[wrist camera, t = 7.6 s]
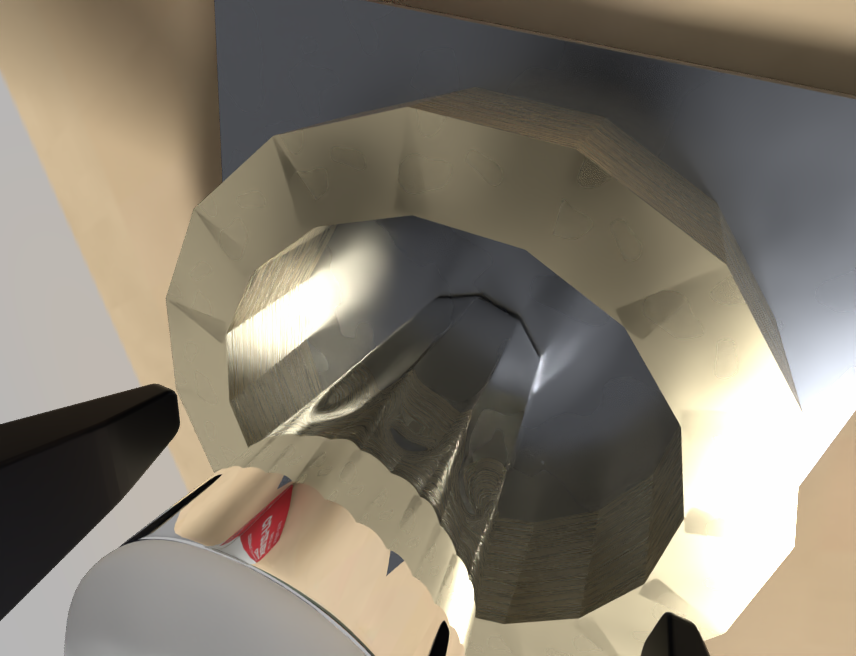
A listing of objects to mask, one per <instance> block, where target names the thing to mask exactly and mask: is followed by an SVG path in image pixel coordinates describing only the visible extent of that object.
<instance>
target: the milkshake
mask: <svg viewBox="0 0 856 656" xmlns="http://www.w3.org/2000/svg"><path fill="white" fill-rule="evenodd" d="M539 364H540V358H539V356H538V354H537V353H536V351H535V349H534V347H533V345H532V343H531V341H530V339H529V337H528V335H527V334H526V332H525V330H524V328H523V326H522V324H521V322H520V320H519V319H517V318H515V317H514V316H512V315H510V314H508V313H507V312H505V311H503V310H501V309H500V308H498V307H496V306H494V305H493V304H491V303H489V302H488V301H486V300H484V299H482V298H481V297H479V296H475V297H458V298H438V299H434V300H433V301H431V302H430V303H429V304H428V305H426V306H425V307H424V308H423V309H422V310H420V311H419V312H418V313H417V314H416V315H414V316H413V317H412V318H411V319H410V320H408V321H407V322H406V323H405V324H404V325H402V326H401V327H400V328H399V329H398V330H396V331H395V332H394V333H393V334H392V335H390V336H389V337H388V338H387V339H386V340H384V341H383V342H382V343H381V344H380V345H378V346H377V347H376V348H375V349H374V350H372V351H371V352H370V353H369V354H368V355H366V356H365V357H364V358H363V359H362V360H360V361H359V362H358V363H357V364H355V365H354V366H353V367H352V368H351V369H349V370H348V371H347V372H346V373H345V374H343V375H342V376H341V377H340V378H339V379H337V380H336V381H335V382H334V383H333V384H331V385H330V386H329V387H328V388H326V389H325V390H324V391H323V392H322V393H320V394H319V395H318V396H317V397H315V398H314V399H313V400H312V401H310V402H309V403H308V404H307V405H305V406H304V407H303V408H301V409H300V410H299V411H298V412H296V413H295V414H293V415H292V416H291V417H289V418H288V419H287V420H285V421H284V422H283V423H281V424H280V425H279V426H277V427H276V428H274V429H273V430H272V431H270V432H269V433H268V434H266V435H265V436H264V437H262V438H261V439H259V440H258V441H257V442H255V443H254V444H253V445H251V446H250V447H249V448H247V449H246V450H245V451H244V452H242V453H241V454H240V455H238V456H237V457H236V458H234V459H233V460H232V461H230V462H229V463H228V464H226V465H225V466H224V467H222V468H221V469H220V470H219V471H217V472H216V473H215V474H213V475H212V476H211V477H209V478H208V479H207V480H205V481H204V482H203V483H202V484H200V485H199V486H198V487H196V488H195V489H194V490H192V491H191V492H190V493H188V494H187V495H186V496H185V497H183V498H182V499H181V500H179V501H178V502H177V503H175V504H174V505H173V506H172V507H170V508H169V509H168V510H166V511H165V512H164V513H162V514H161V515H160V516H158V517H157V518H156V519H155V520H153V521H152V522H151V523H149V524H148V525H147V526H145V527H144V528H143V529H141V530H140V531H139V532H137V533H136V534H135V535H134V536H132V537H131V538H130V539H128V540H127V541H126V542H125V543H123V544H122V545H121V546H120V547H119V548H117V549H116V550H114V551H112V552H110V553H109V554H108V555H106V556H105V557H103V558H102V559H101V560H100V561H98V563H96V564H95V565H94V566H93V567H92V568H91V569H90V570H89V571H88V572H87V574H86V575H85V576H84V577H83V579H82V580H81V582H80V584H79V585H78V587H77V589H76V591H75V594H74V596H73V599H72V602H71V606H70V609H69V613H68V619H67V626H66V635H65V645H64V646H65V647H64V656H466V653H467V648H468V644H469V640H470V636H471V632H472V628H473V623H474V619H475V615H476V611H477V607H478V602H479V598H480V593H481V589H482V583H483V577H484V571H485V564H486V560H487V556H488V553H489V549H490V545H491V542H492V538H493V535H494V531H495V528H496V524H497V521H498V517H499V514H500V510H501V507H502V503H503V500H504V496H505V493H506V489H507V486H508V482H509V479H510V475H511V472H512V468H513V465H514V461H515V458H516V454H517V451H518V447H519V444H520V440H521V437H522V433H523V430H524V426H525V423H526V419H527V416H528V412H529V409H530V405H531V402H532V397H533V392H534V387H535V382H536V378H537V373H538V368H539Z"/></svg>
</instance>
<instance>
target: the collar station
mask: <svg viewBox="0 0 856 656" xmlns="http://www.w3.org/2000/svg"><path fill="white" fill-rule="evenodd" d="M214 2H215V25H216V47H217V69H218V92H219V114H220V136H221V159H222V181H223V182H222V183H221V184H220V185H219V186H218V187H217V188H216V189H215V190H214V191H213V192H212V193H211V194H209V195H208V196H207V197H206V198H205V199H204V200H203V201H202V202H201V203H200V204H199V205H198V206H196V207H195V208H194V210H193V213H192V216H191V220H190V223H189V226H188V229H187V232H186V236H185V239H184V242H183V245H182V248H181V252H180V255H179V258H178V261H177V264H176V267H175V271H174V274H173V277H172V280H171V283H170V287H169V290H168V293H167V296H166V305H167V314H168V322H169V331H170V340H171V349H172V358H173V367H174V375H175V384H176V390H177V392H178V394H179V396H180V398H181V401H182V403H183V405H184V407H185V410H186V412H187V414H188V416H189V418H190V421H191V423H192V425H193V427H194V429H195V432H196V434H197V436H198V438H199V440H200V443H201V445H202V447H203V449H204V452H205V454H206V456H207V458H208V460H209V463H210V465H211V467H212V469H213V471H214V473H216V472H217V471H219V470H220V469H221V468H222V467H224V466H225V465H226V464H228V463H229V462H230V461H232V460H233V459H234V458H236V457H237V456H238V455H240V454H241V453H242V452H244V451H245V450H246V449H247V448H249V447H250V446H251V445H253V444H254V443H255V442H257V441H258V440H259V439H261V438H262V437H264V436H265V435H266V434H268V433H269V432H270V431H272V430H273V429H274V428H276V427H277V426H279V425H280V424H281V423H283V422H284V421H285V420H287V419H288V418H289V417H291V416H292V415H293V414H295V413H296V412H298V411H299V410H300V409H301V408H303V407H304V406H305V405H307V404H308V403H309V402H310V401H312V400H313V399H314V398H315V397H317V396H318V395H319V394H320V393H322V392H323V391H324V390H325V389H326V388H328V387H329V386H330V385H331V384H333V383H334V382H335V381H336V380H337V379H339V378H340V377H341V376H342V375H343V374H345V373H346V372H347V371H348V370H349V369H351V368H352V367H353V366H354V365H355V364H357V363H358V362H359V361H360V360H362V359H363V358H364V357H365V356H366V355H368V354H369V353H370V352H371V351H372V350H374V349H375V348H376V347H377V346H378V345H380V344H381V343H382V342H383V341H384V340H386V339H387V338H388V337H389V336H390V335H392V334H393V333H394V332H395V331H396V330H398V329H399V328H400V327H401V326H402V325H404V324H405V323H406V322H407V321H408V320H410V319H411V318H412V317H413V316H414V315H416V314H417V313H418V312H419V311H420V310H422V309H423V308H424V307H425V306H426V305H428V304H429V303H430V302H431V301H433V300H434V299H438V298H458V297H475V296H479V297H481V298H482V299H484V300H486V301H488V302H489V303H491V304H493V305H494V306H496V307H498V308H500V309H501V310H503V311H505V312H507V313H508V314H510V315H512V316H514V317H515V318H517V319H519V320H520V322H521V324H522V326H523V328H524V330H525V332H526V334H527V335H528V337H529V339H530V341H531V343H532V345H533V347H534V349H535V351H536V353H537V354H538V356H539V358H540V364H539V368H538V373H537V378H536V382H535V387H534V392H533V397H532V402H531V405H530V409H529V412H528V416H527V419H526V423H525V426H524V430H523V433H522V437H521V440H520V444H519V447H518V451H517V454H516V458H515V461H514V465H513V468H512V472H511V475H510V479H509V482H508V486H507V489H506V493H505V496H504V500H503V503H502V507H501V510H500V514H499V517H498V521H497V524H496V528H495V531H494V535H493V538H492V542H491V545H490V549H489V553H488V556H487V560H486V564H485V571H484V577H483V583H482V589H481V593H480V598H479V602H478V607H477V611H476V615H475V619H474V623H473V628H472V632H471V636H470V640H469V644H468V648H467V653H466V656H641V652H642V648H643V645H644V643H645V641H646V639H647V637H648V636H649V634H650V633H651V631H652V630H653V628H654V627H655V625H656V624H657V622H658V621H659V619H660V618H661V616H662V615H663V614H664V613H666V612H672V613H674V614H677V615H679V616H681V617H683V618H686V619H688V620H690V621H692V622H693V623H694V624H695V625H696V626H697V627H698V629H699V631H700V634H701V636H702V638H703V641H705V640H708V639H710V638H713V637H715V636H718V635H720V634H723V633H725V632H726V631H727V630H728V628H729V627H730V626H731V625H732V623H733V622H734V621H735V620H736V618H737V617H738V616H739V615H740V613H741V612H742V611H743V610H744V608H745V607H746V606H747V605H748V603H749V602H750V601H751V600H752V599H753V597H754V596H755V595H756V594H757V592H758V591H759V590H760V589H761V587H762V586H763V585H764V584H765V582H766V581H767V580H768V579H769V577H770V576H771V575H772V574H773V572H774V571H775V570H776V569H777V567H778V566H779V565H780V564H781V562H782V561H783V560H784V559H785V557H786V556H787V555H788V554H789V552H790V551H791V550H792V549H793V547H794V540H795V526H796V511H797V497H798V487H799V485H800V484H801V483H802V481H803V480H804V479H805V477H806V476H807V475H808V473H809V472H810V471H811V469H812V468H813V467H814V465H815V464H816V463H817V461H818V460H819V458H820V457H821V456H822V454H823V453H824V452H825V450H826V449H827V448H828V446H829V445H830V444H831V442H832V441H833V440H834V438H835V437H836V436H837V434H838V433H839V431H840V430H841V429H842V427H843V426H844V425H845V423H846V422H847V421H848V419H849V418H850V417H851V415H852V414H853V413H854V411H855V410H856V96H855V95H850V94H845V93H840V92H835V91H830V90H825V89H820V88H815V87H810V86H805V85H800V84H795V83H790V82H785V81H780V80H775V79H770V78H765V77H760V76H755V75H750V74H745V73H740V72H735V71H730V70H725V69H720V68H715V67H710V66H705V65H700V64H695V63H690V62H685V61H680V60H675V59H670V58H665V57H660V56H655V55H650V54H645V53H640V52H635V51H630V50H625V49H619V48H614V47H609V46H604V45H599V44H594V43H589V42H584V41H579V40H574V39H569V38H564V37H559V36H554V35H549V34H544V33H539V32H534V31H529V30H524V29H519V28H514V27H509V26H504V25H499V24H494V23H489V22H484V21H479V20H474V19H469V18H464V17H459V16H454V15H449V14H444V13H439V12H434V11H429V10H424V9H419V8H414V7H409V6H404V5H399V4H394V3H389V2H384V1H379V0H214Z"/></svg>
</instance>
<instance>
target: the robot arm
mask: <svg viewBox="0 0 856 656" xmlns="http://www.w3.org/2000/svg"><path fill="white" fill-rule="evenodd" d="M179 426H180V417H179V409H178V400H177V395H176V393H175V392H174V391H173V390H171V389H169V388H167V387H164V386H162V385H160V384H150V385H146V386H142V387H139V388H135V389H131V390H127V391H124V392H120V393H116V394H112V395H109V396H105V397H101V398H97V399H93V400H90V401H86V402H82V403H78V404H75V405H71V406H67V407H63V408H60V409H56V410H52V411H49V412H45V413H41V414H37V415H33V416H30V417H26V418H22V419H18V420H15V421H11V422H7V423H3V424H0V621H1V620H2V619H3V618H4V617H5V616H6V615H7V614H8V613H9V612H10V611H11V610H12V609H13V608H14V607H15V606H16V605H17V604H18V603H19V602H20V601H21V600H22V599H23V598H24V597H25V596H26V595H27V594H28V593H29V592H30V591H31V590H32V589H33V588H34V587H35V586H36V585H37V584H38V583H39V582H40V581H41V580H42V579H43V578H44V577H45V576H46V575H47V574H48V573H49V572H50V571H51V570H52V569H53V568H54V567H55V566H56V565H57V564H58V563H59V562H60V561H61V560H62V559H63V558H64V557H65V556H66V555H67V554H68V553H69V552H70V551H71V550H72V549H73V548H74V547H75V546H76V545H77V544H78V543H79V542H80V541H81V540H82V539H83V538H84V537H85V536H86V535H87V534H88V533H89V532H90V531H91V530H92V529H93V528H94V527H95V526H96V525H97V524H98V523H99V522H100V521H101V520H102V519H103V518H104V517H105V516H106V515H107V514H108V513H109V512H110V511H111V510H112V509H113V508H114V507H115V506H116V505H117V504H118V503H119V502H120V501H121V500H122V499H123V497H124V496H125V495H126V494H127V493H128V492H129V491H130V489H131V488H132V487H133V486H134V485H135V483H136V482H137V481H138V480H139V479H140V477H141V476H142V475H143V474H144V473H145V471H146V470H147V469H148V468H149V467H150V465H151V464H152V463H153V462H154V461H155V459H156V458H157V457H158V456H159V455H160V453H161V452H162V451H163V450H164V449H165V447H166V446H167V445H168V444H169V443H170V441H171V440H172V439H173V438H174V436H175V435H176V433H177V432H178V429H179ZM641 656H710V655H709V652H708V650H707V648H706V645H705V643H704V641H703V638H702V636H701V634H700V631H699V629H698V627H697V626H696V625H695V624H694V623H693V622H692V621H690V620H688V619H686V618H683V617H681V616H679V615H677V614H674V613H672V612H666V613H664V614H663V615H662V616H661V618H660V619H659V621H658V622H657V624H656V625H655V627H654V628H653V630H652V631H651V633H650V634H649V636H648V637H647V639H646V641H645V643H644V645H643V648H642V652H641Z"/></svg>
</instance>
